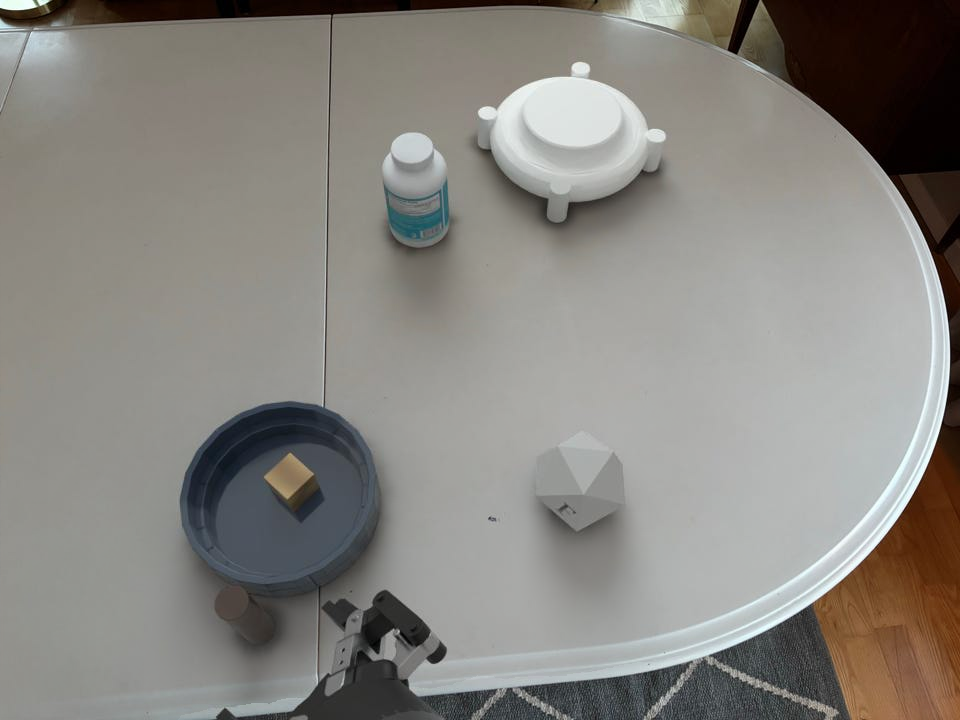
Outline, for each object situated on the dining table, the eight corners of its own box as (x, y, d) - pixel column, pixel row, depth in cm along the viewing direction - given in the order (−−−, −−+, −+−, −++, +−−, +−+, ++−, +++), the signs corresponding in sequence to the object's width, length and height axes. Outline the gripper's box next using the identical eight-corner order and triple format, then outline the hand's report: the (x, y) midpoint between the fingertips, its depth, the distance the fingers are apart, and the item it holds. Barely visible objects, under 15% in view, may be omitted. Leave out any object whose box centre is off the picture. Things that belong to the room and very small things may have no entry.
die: (517, 471, 82) (516, 499, 73) (574, 408, 81) (581, 427, 71) (578, 524, 83) (585, 559, 73) (636, 462, 82) (652, 489, 72)
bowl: (281, 640, 73) (269, 628, 69) (157, 512, 79) (139, 494, 75) (418, 498, 80) (415, 479, 76) (295, 391, 86) (285, 368, 82)
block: (294, 512, 79) (287, 499, 76) (270, 490, 80) (263, 477, 77) (320, 487, 80) (314, 474, 77) (296, 466, 81) (290, 452, 78)
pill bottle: (410, 196, 101) (402, 114, 89) (460, 218, 99) (458, 137, 87) (378, 236, 97) (365, 156, 86) (429, 259, 96) (423, 181, 84)
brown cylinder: (258, 651, 73) (229, 627, 64) (238, 630, 73) (207, 604, 65) (281, 627, 74) (256, 601, 65) (261, 607, 75) (234, 578, 66)
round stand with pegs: (460, 209, 100) (460, 168, 94) (493, 81, 112) (494, 38, 106) (651, 236, 98) (663, 197, 92) (663, 103, 110) (674, 60, 104)
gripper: (460, 622, 37) (330, 541, 51) (223, 896, 32) (149, 723, 46) (539, 717, 40) (396, 616, 54) (334, 983, 35) (233, 795, 48)
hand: (283, 665), depth 50 cm, fingers open, 8 cm apart
